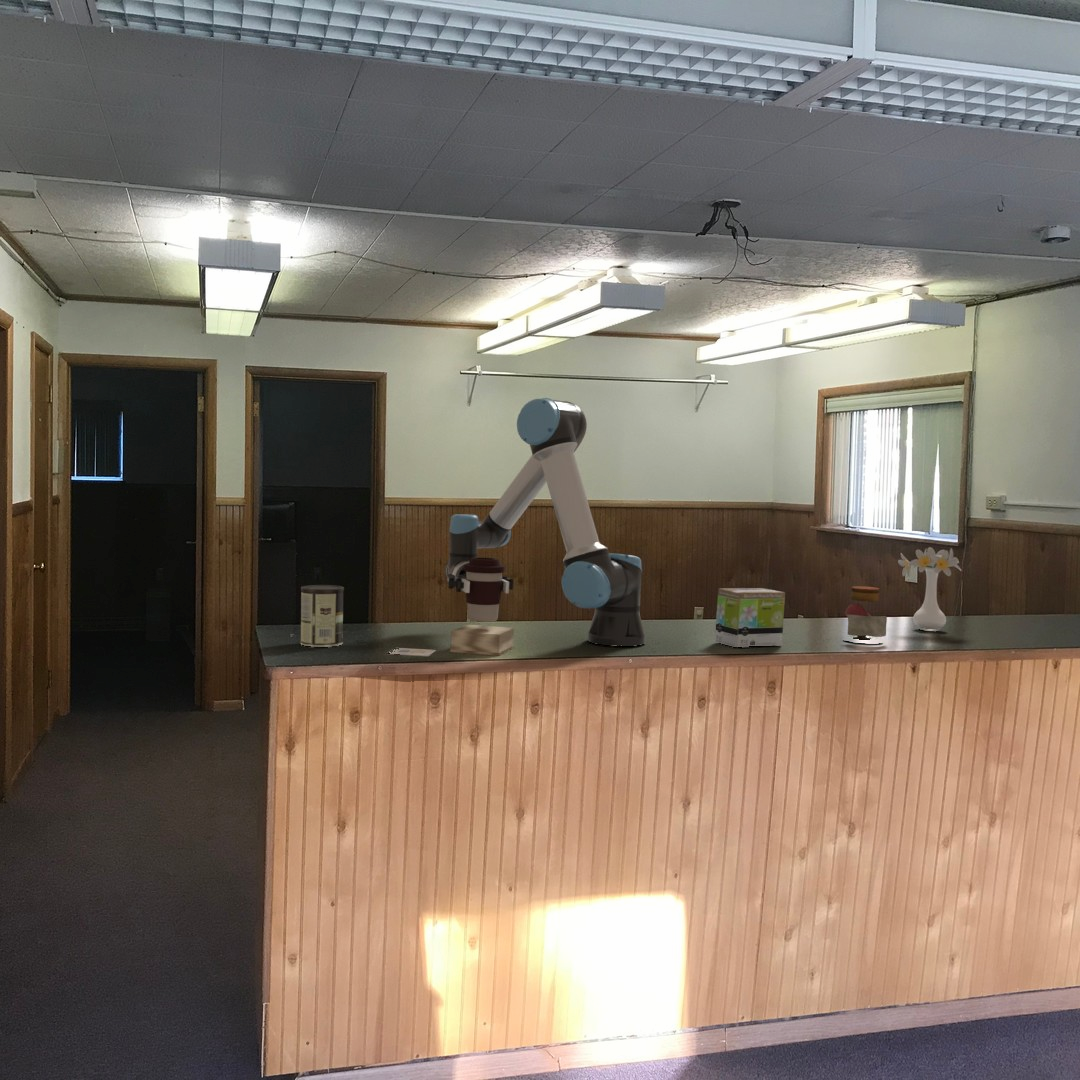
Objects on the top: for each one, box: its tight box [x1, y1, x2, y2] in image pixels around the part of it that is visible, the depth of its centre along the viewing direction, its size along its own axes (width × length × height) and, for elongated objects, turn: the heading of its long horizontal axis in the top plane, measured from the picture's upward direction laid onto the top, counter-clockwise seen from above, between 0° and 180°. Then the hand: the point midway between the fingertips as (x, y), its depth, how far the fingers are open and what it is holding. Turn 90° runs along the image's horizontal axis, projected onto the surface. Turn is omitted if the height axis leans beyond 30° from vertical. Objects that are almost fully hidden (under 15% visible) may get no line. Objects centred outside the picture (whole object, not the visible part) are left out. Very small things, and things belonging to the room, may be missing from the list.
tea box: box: [714, 587, 786, 648], centre depth 284 cm, size 15×10×15 cm, turn 117°
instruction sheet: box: [388, 647, 437, 657], centre depth 256 cm, size 10×8×1 cm
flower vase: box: [897, 546, 962, 629], centre depth 322 cm, size 13×18×25 cm
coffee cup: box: [464, 556, 506, 623], centre depth 262 cm, size 10×10×15 cm
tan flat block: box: [449, 624, 515, 657], centre depth 262 cm, size 12×12×5 cm
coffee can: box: [300, 584, 345, 648], centre depth 262 cm, size 10×10×14 cm
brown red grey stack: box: [844, 585, 888, 640], centre depth 296 cm, size 12×13×15 cm
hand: (487, 587), depth 257 cm, fingers closed on coffee cup, 9 cm apart
